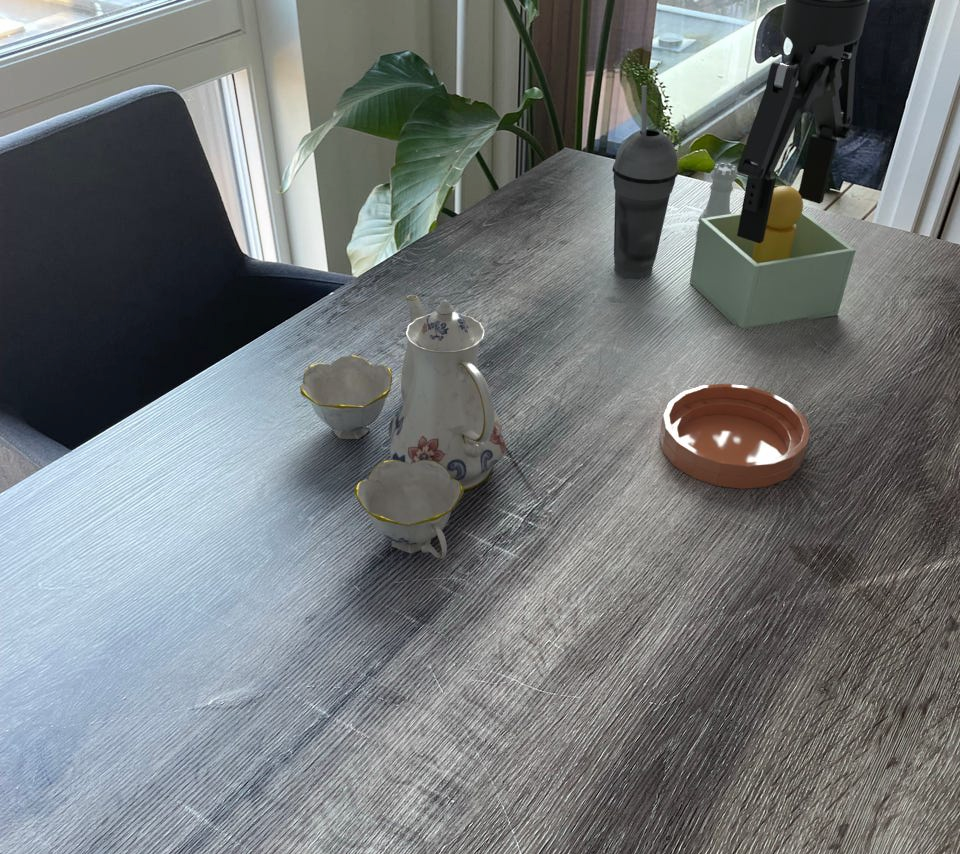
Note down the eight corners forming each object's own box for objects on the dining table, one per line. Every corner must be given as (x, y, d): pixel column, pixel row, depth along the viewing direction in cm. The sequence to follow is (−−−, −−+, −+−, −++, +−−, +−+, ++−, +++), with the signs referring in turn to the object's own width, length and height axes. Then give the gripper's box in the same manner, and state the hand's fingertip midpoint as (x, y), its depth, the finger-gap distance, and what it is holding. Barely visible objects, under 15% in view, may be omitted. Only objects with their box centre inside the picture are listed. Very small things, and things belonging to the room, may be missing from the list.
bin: (780, 267, 123) (795, 204, 118) (837, 315, 115) (856, 250, 110) (689, 282, 120) (699, 218, 115) (741, 332, 112) (755, 266, 107)
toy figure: (769, 282, 119) (793, 176, 111) (789, 299, 117) (815, 192, 108) (736, 288, 118) (757, 181, 110) (755, 306, 115) (778, 198, 107)
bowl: (755, 400, 103) (761, 373, 101) (830, 476, 94) (838, 449, 92) (635, 424, 100) (639, 397, 98) (701, 505, 91) (706, 478, 89)
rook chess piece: (712, 221, 132) (723, 156, 126) (739, 233, 129) (751, 168, 124) (688, 231, 130) (698, 165, 124) (715, 243, 127) (727, 177, 122)
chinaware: (284, 429, 101) (241, 272, 89) (436, 373, 105) (415, 216, 93) (402, 606, 84) (368, 442, 72) (578, 531, 88) (576, 364, 76)
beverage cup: (656, 288, 119) (683, 102, 105) (595, 278, 121) (613, 94, 106) (669, 261, 124) (696, 80, 110) (610, 251, 126) (629, 72, 111)
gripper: (852, -43, 104) (804, 175, 119) (725, 9, 91) (689, 246, 106) (923, -30, 101) (864, 192, 116) (802, 26, 88) (753, 268, 103)
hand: (780, 218), depth 111 cm, fingers open, 12 cm apart
